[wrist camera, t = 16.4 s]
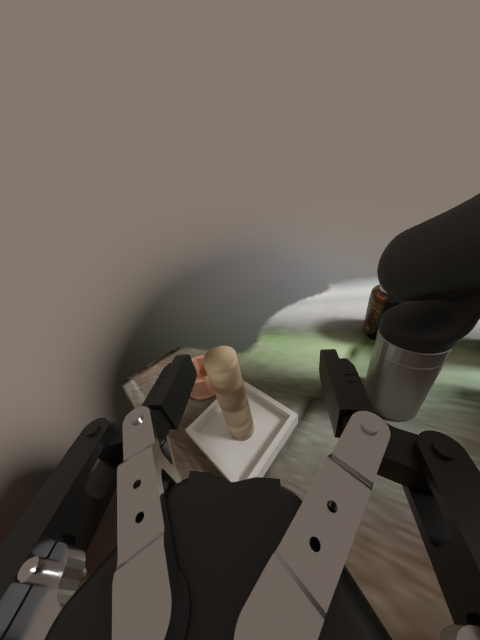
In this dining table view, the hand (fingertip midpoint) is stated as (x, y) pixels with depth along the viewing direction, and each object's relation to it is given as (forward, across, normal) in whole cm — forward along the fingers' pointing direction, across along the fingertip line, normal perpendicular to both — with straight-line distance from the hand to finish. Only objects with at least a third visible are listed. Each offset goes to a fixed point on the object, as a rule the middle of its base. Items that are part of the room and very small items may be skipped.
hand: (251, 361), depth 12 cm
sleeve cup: (+24, +19, +32) cm, 44 cm away
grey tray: (+12, +7, +32) cm, 35 cm away
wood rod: (+12, +7, +31) cm, 34 cm away
